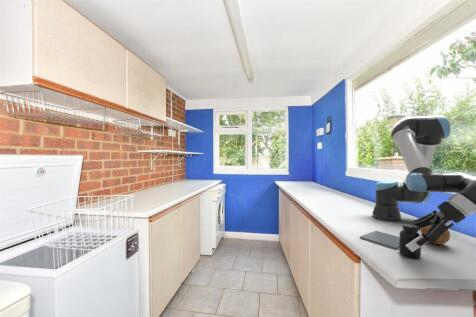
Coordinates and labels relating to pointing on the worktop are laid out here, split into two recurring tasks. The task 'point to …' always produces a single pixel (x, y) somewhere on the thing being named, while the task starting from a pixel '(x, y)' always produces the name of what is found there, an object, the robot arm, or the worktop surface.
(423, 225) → the robot arm
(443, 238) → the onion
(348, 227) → the worktop surface
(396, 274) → the worktop surface
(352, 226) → the worktop surface
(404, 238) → the supplement bottle
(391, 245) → the slate tile
